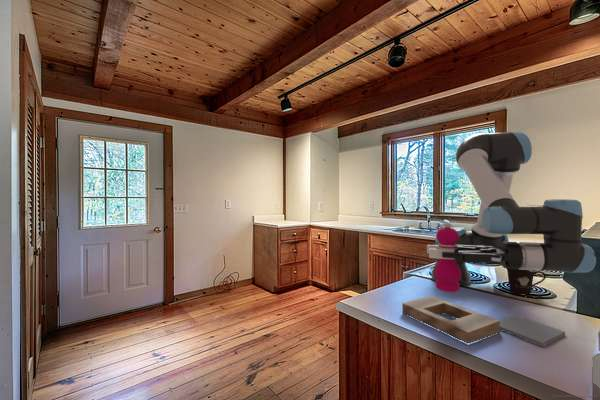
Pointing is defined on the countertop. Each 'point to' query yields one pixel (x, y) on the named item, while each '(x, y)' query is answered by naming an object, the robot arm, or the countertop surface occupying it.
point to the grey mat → (530, 330)
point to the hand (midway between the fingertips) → (428, 251)
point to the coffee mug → (522, 280)
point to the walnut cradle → (463, 328)
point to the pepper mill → (447, 261)
